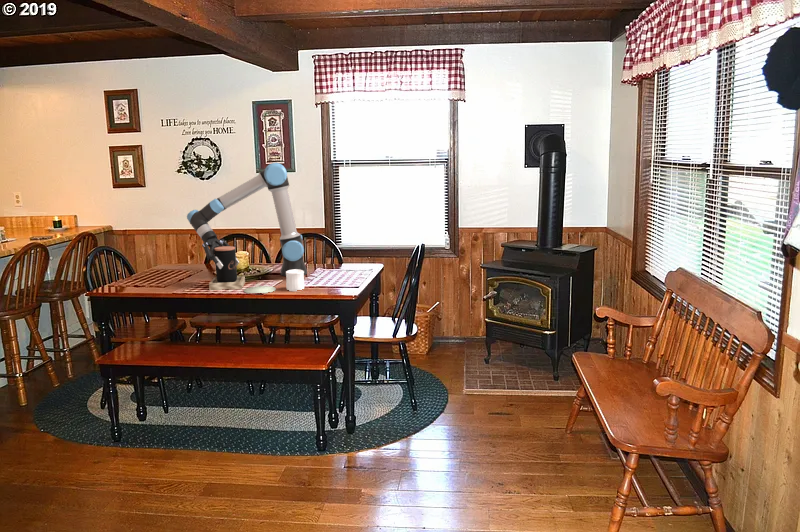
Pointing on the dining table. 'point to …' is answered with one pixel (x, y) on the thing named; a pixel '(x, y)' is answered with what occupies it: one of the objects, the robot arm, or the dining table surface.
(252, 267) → the dining table surface
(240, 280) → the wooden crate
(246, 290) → the sage mat
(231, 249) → the coffee jar
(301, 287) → the cup
